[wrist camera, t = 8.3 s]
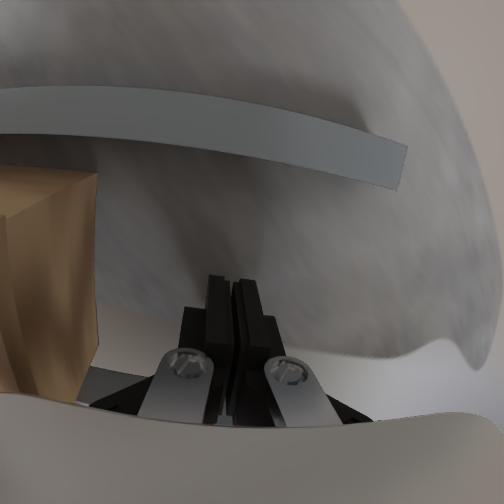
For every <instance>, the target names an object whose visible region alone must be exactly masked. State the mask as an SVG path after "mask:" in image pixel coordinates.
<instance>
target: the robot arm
mask: <svg viewBox="0 0 504 504" xmlns="http://www.w3.org/2000/svg"><path fill="white" fill-rule="evenodd" d="M224 401H225V402H226V416H232V423H233V426H227V425H214V424H216V423H217V420H218V415H222V411H223V406H224ZM0 504H504V433H503V432H502V431H501V430H500V429H499V428H498V427H497V426H496V424H494V423H493V422H492V421H491V420H490V419H488V418H486V417H483V416H480V415H476V414H470V413H462V412H446V413H436V414H429V415H421V416H414V417H406V418H400V419H392V420H384V421H381V420H379V421H375V422H374V421H372V420H371V419H370V418H369V417H367V416H365V415H363V414H362V413H360V412H358V411H356V410H354V409H352V408H350V407H348V406H347V405H345V404H343V403H341V402H339V401H338V400H336V399H334V398H332V397H331V396H329V395H327V394H325V392H324V391H323V389H322V387H321V386H320V384H319V382H318V380H317V379H316V377H315V375H314V374H313V372H312V370H311V369H310V367H309V366H308V365H307V364H305V363H304V362H303V361H301V360H298V359H296V358H293V357H288V356H286V354H285V350H284V347H283V343H282V340H281V336H280V333H279V329H278V326H277V322H276V319H275V317H274V316H267V315H263V311H262V306H261V302H260V298H259V294H258V289H257V285H256V281H255V280H250V279H241V278H240V280H239V282H234V283H233V289H232V295H231V292H230V281H225V280H224V276H216V275H209V280H208V288H207V296H206V304H205V309H200V308H192V307H184V313H183V319H182V325H181V332H180V338H179V345H178V348H177V349H174V350H171V351H169V352H167V353H166V354H165V355H164V357H163V358H162V360H161V362H160V364H159V366H158V369H157V371H156V373H155V375H153V376H150V377H148V378H146V379H144V380H142V381H140V382H137V383H135V384H133V385H131V386H128V387H126V388H124V389H122V390H120V391H117V392H115V393H113V394H110V395H108V396H106V397H104V398H101V399H99V400H97V401H95V402H93V403H92V404H90V405H89V406H84V405H80V403H71V402H65V401H61V400H56V399H52V398H48V397H44V396H38V395H32V394H27V393H18V392H0Z"/></svg>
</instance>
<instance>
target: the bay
mask: <svg viewBox="0 0 504 504" xmlns="http://www.w3.org/2000/svg"><path fill="white" fill-rule="evenodd" d="M0 134H56V135H77V136H92V137H106V138H117V139H128V140H138V141H147V142H156V143H164V144H172V145H180V146H187V147H194V148H201V149H208V150H214V151H220V152H227V153H232V154H238V155H244V156H249V157H255V158H260V159H266V160H271V161H276V162H281V163H286V164H290V165H295V166H300V167H304V168H309V169H313V170H318V171H322V172H326V173H331V174H335V175H339V176H343V177H347V178H351V179H355V180H359V181H363V182H366V183H370V184H374V185H378V186H381V187H385V188H388V189H392V190H395V191H397V188H398V185H399V181H400V177H401V173H402V169H403V165H404V161H405V156H406V152H407V148H408V146H405V145H402V144H400V143H397V142H394V141H391V140H388V139H385V138H383V137H380V136H377V135H374V134H370V133H367V132H364V131H361V130H358V129H355V128H351V127H348V126H345V125H341V124H338V123H334V122H331V121H327V120H323V119H320V118H316V117H312V116H308V115H304V114H300V113H296V112H292V111H288V110H283V109H279V108H274V107H270V106H265V105H260V104H255V103H250V102H244V101H239V100H233V99H227V98H221V97H215V96H209V95H202V94H194V93H187V92H178V91H169V90H159V89H148V88H135V87H118V86H88V85H63V86H34V87H18V88H6V89H0ZM146 378H148V377H144V376H138V375H133V374H127V373H122V372H116V371H111V370H106V369H101V368H97V367H92V366H89V369H88V371H87V374H86V376H85V378H84V381H83V383H82V386H81V388H80V391H79V393H78V396H77V398H76V401H75V403H80V405H84V406H89V405H90V404H92V403H93V402H95V401H97V400H99V399H101V398H104V397H106V396H108V395H110V394H113V393H115V392H117V391H120V390H122V389H124V388H126V387H128V386H131V385H133V384H135V383H137V382H140V381H142V380H144V379H146ZM214 425H227V426H233V423H232V416H226V402H225V401H224V406H223V411H222V415H218V420H217V423H216V424H214Z"/></svg>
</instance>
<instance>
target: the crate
mask: <svg viewBox="0 0 504 504" xmlns="http://www.w3.org/2000/svg"><path fill="white" fill-rule="evenodd" d="M97 178H98V173H97V172H87V171H77V170H66V169H54V168H41V167H27V166H11V165H0V392H18V393H27V394H32V395H38V396H44V397H48V398H52V399H56V400H61V401H65V402H71V403H75V401H76V398H77V396H78V393H79V391H80V388H81V386H82V383H83V381H84V378H85V376H86V374H87V371H88V369H89V366H90V364H91V362H92V359H93V357H94V355H95V352H96V350H97V348H98V345H99V336H98V324H97V307H96V301H95V277H94V235H95V208H96V191H97Z"/></svg>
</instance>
